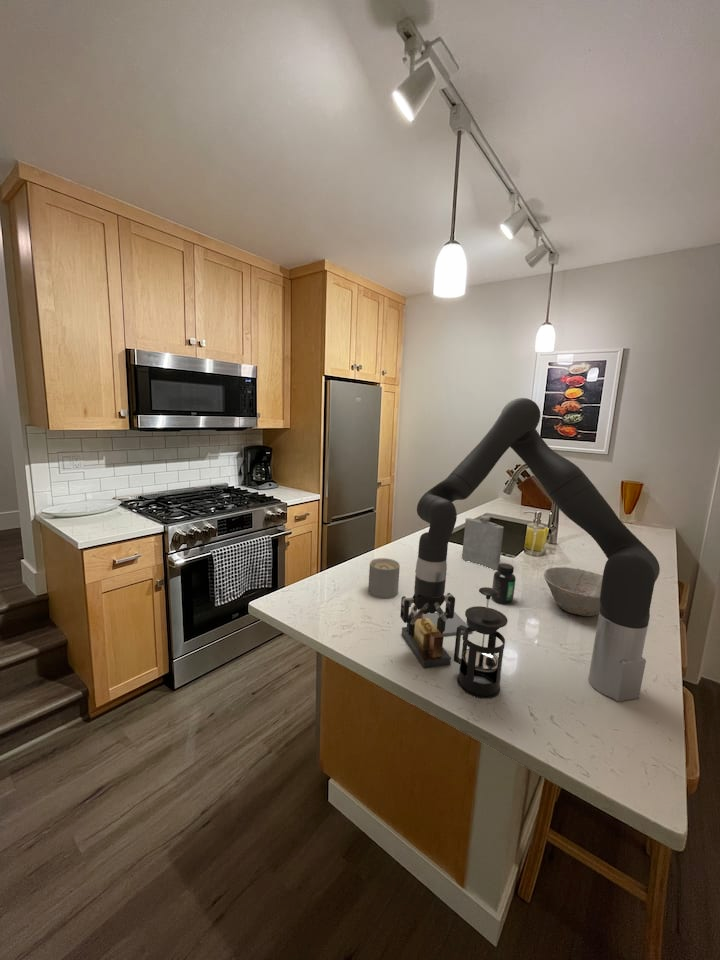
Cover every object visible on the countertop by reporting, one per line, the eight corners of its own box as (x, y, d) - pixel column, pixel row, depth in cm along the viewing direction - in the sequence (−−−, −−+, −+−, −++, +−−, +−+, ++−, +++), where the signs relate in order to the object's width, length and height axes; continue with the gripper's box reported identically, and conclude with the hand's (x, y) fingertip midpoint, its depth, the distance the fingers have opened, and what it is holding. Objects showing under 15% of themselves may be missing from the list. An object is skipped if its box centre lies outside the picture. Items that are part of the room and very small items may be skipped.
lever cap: (438, 648, 102) (440, 628, 101) (422, 650, 101) (424, 629, 100) (427, 633, 109) (428, 614, 108) (412, 634, 108) (413, 615, 107)
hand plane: (450, 664, 99) (452, 636, 98) (423, 668, 97) (426, 639, 96) (425, 631, 113) (427, 606, 112) (401, 634, 112) (403, 608, 110)
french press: (510, 687, 92) (522, 592, 88) (489, 707, 86) (502, 606, 81) (464, 662, 100) (474, 575, 96) (442, 679, 94) (451, 585, 90)
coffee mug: (383, 601, 130) (385, 572, 128) (362, 590, 137) (363, 562, 135) (410, 590, 139) (412, 562, 137) (389, 580, 146) (390, 553, 144)
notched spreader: (460, 559, 170) (464, 513, 166) (465, 557, 173) (469, 511, 169) (496, 571, 159) (502, 522, 156) (501, 568, 162) (506, 520, 158)
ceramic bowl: (604, 599, 139) (609, 572, 137) (629, 635, 117) (634, 602, 115) (535, 589, 145) (538, 562, 143) (545, 620, 123) (550, 589, 121)
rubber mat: (472, 633, 114) (472, 630, 114) (436, 636, 111) (436, 634, 111) (453, 613, 124) (454, 611, 124) (420, 616, 121) (420, 614, 121)
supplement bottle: (514, 606, 131) (518, 571, 129) (492, 603, 132) (496, 568, 130) (511, 596, 138) (515, 563, 135) (490, 594, 139) (493, 560, 137)
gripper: (409, 582, 96) (404, 645, 99) (463, 578, 100) (457, 639, 103) (398, 570, 103) (394, 629, 106) (449, 567, 107) (444, 624, 110)
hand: (425, 634), depth 105 cm, fingers open, 7 cm apart
